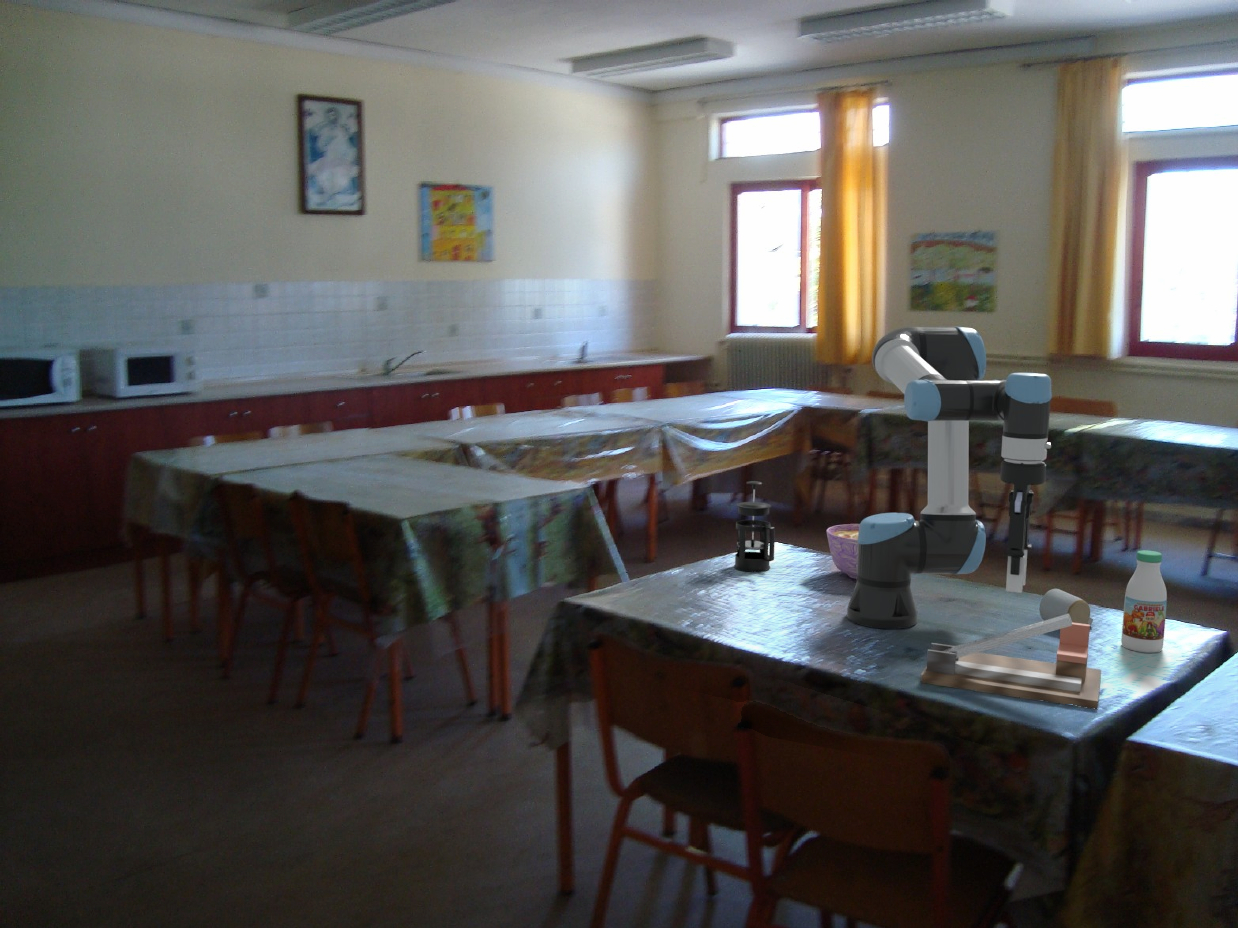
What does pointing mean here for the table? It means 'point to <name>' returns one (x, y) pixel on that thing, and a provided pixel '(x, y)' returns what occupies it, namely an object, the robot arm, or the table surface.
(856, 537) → the bowl of food
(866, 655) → the table surface
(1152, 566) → the milk bottle
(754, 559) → the french press
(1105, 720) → the table surface
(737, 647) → the table surface
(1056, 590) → the ceramic mug
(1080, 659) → the bracket
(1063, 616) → the tong arm
